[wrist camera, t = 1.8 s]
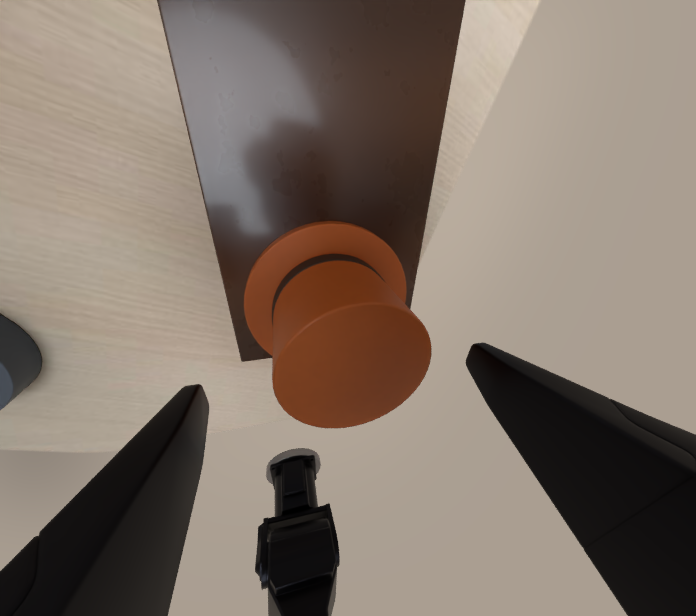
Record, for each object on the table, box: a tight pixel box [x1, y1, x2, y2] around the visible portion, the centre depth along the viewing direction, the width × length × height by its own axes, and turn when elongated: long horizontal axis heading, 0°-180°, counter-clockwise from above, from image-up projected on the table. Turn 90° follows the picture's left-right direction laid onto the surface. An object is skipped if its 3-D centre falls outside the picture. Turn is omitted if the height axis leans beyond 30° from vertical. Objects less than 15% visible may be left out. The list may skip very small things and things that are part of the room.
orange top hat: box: [244, 221, 431, 428], centre depth 10 cm, size 8×8×5 cm
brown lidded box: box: [157, 0, 465, 362], centre depth 14 cm, size 14×9×9 cm, turn 178°
